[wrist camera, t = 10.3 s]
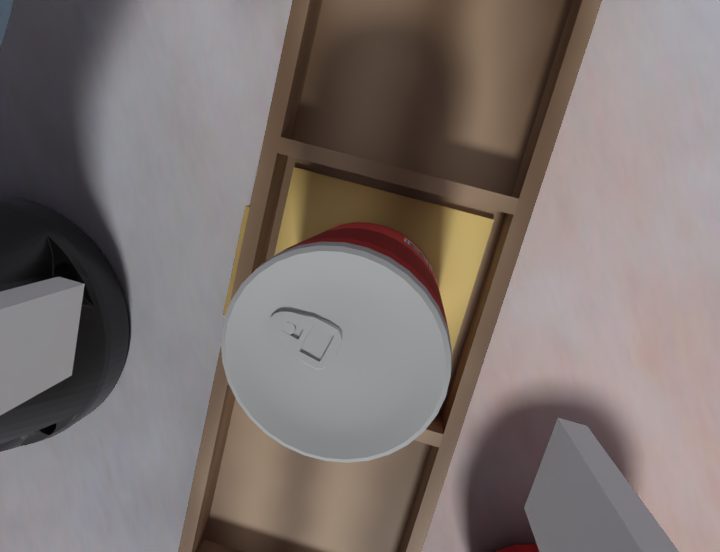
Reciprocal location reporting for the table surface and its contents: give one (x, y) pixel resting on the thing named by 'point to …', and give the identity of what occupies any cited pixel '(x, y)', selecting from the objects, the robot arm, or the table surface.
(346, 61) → the caddy
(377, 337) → the canned food
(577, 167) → the table surface
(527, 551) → the apple
